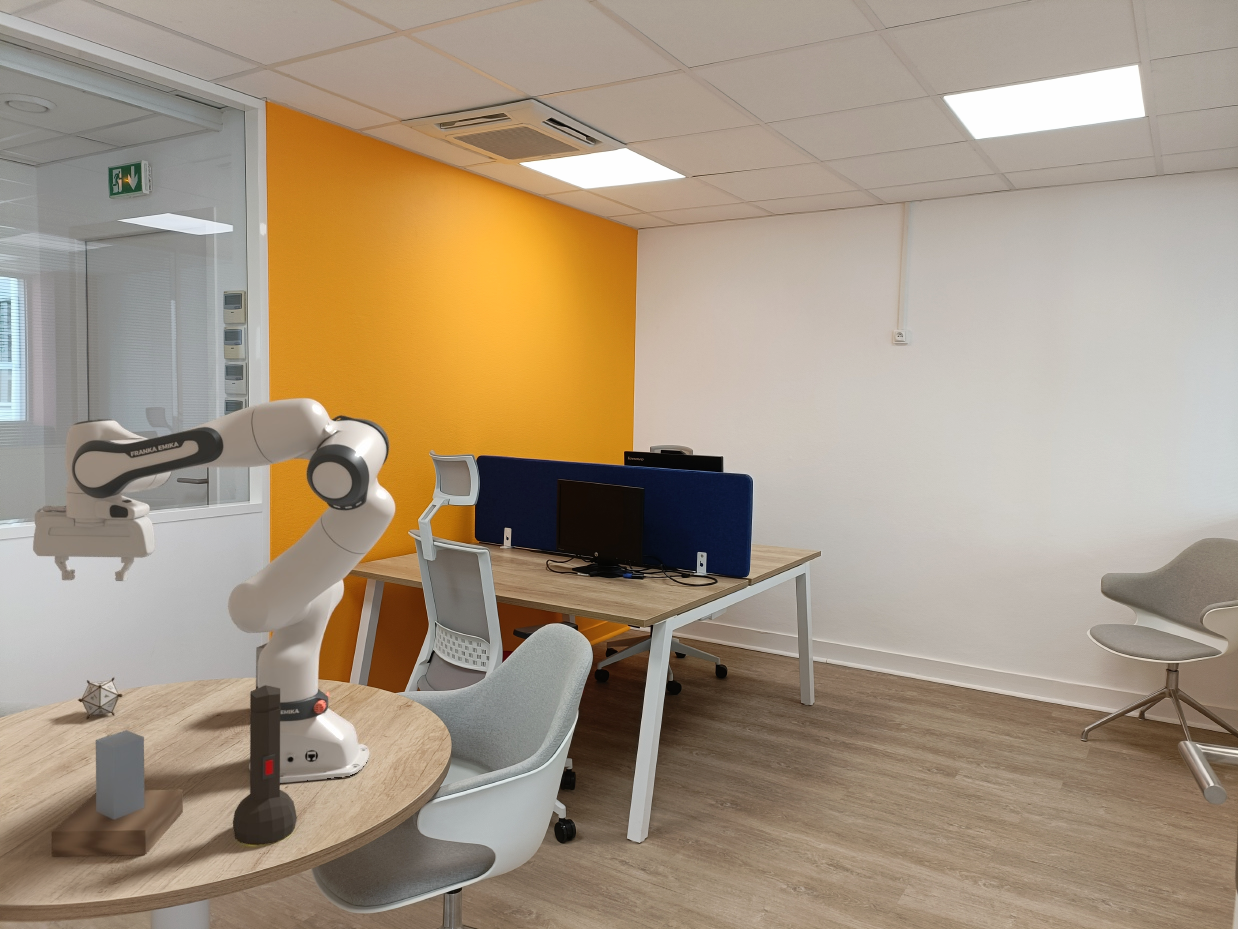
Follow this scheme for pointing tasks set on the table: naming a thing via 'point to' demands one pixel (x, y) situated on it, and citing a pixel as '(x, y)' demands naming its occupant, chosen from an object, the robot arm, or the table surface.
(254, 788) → the flashlight
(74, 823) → the block
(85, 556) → the robot arm
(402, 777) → the table surface
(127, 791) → the slate block
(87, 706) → the game die
